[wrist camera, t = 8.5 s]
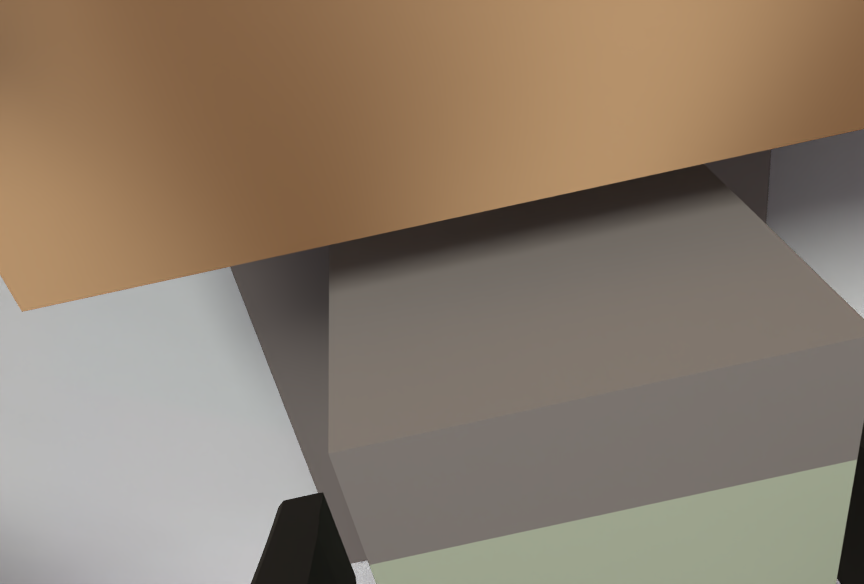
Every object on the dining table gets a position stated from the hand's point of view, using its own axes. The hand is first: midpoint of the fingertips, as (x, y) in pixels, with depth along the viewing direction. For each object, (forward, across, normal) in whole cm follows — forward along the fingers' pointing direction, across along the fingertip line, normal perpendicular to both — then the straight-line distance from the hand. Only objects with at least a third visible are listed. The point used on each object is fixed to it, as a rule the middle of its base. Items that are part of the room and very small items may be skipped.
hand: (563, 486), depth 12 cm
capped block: (+3, 0, 0) cm, 3 cm away
